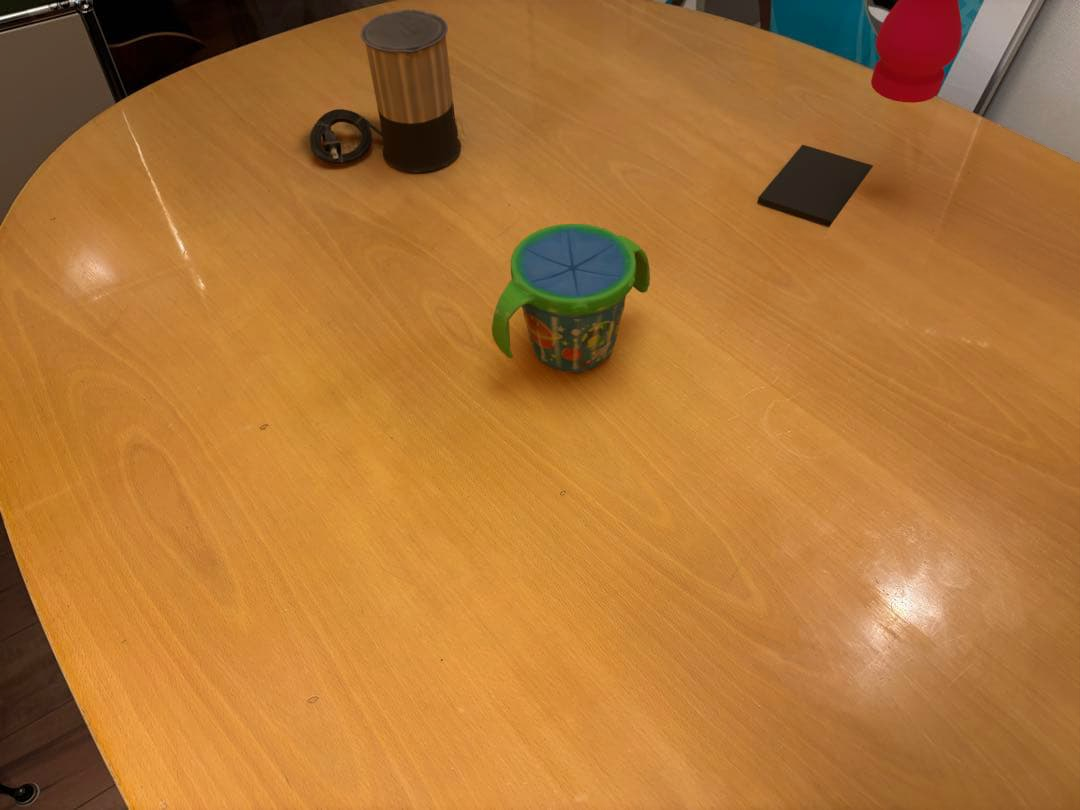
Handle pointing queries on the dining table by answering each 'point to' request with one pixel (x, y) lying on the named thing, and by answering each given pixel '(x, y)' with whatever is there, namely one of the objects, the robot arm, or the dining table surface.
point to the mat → (814, 185)
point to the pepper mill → (916, 49)
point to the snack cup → (570, 293)
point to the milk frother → (402, 96)
